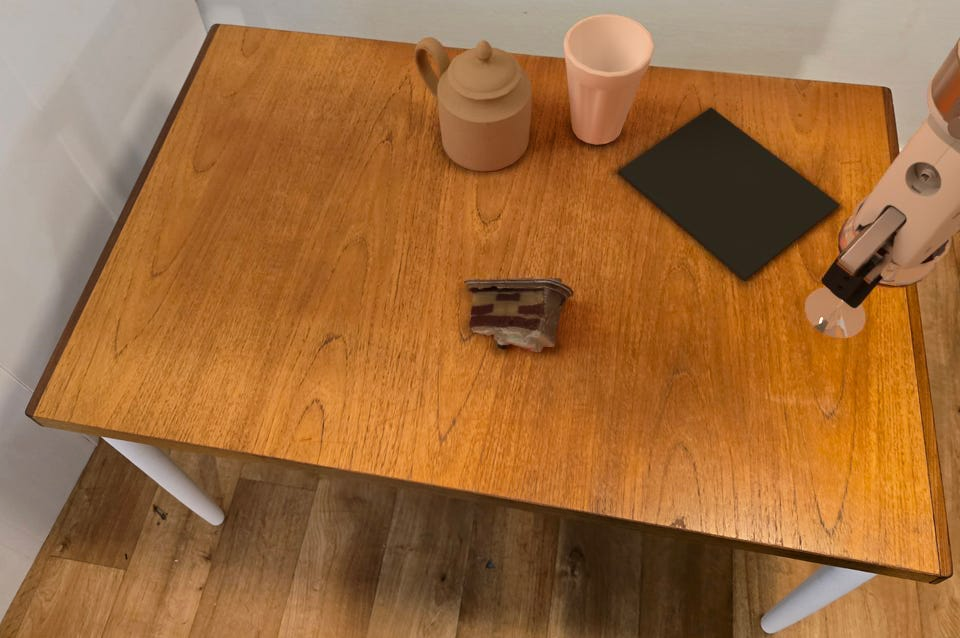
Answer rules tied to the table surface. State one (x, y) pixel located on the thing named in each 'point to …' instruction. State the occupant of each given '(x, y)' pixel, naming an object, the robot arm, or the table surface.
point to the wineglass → (848, 321)
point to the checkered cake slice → (518, 310)
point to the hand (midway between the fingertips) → (871, 265)
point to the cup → (604, 73)
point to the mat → (728, 192)
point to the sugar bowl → (478, 103)
